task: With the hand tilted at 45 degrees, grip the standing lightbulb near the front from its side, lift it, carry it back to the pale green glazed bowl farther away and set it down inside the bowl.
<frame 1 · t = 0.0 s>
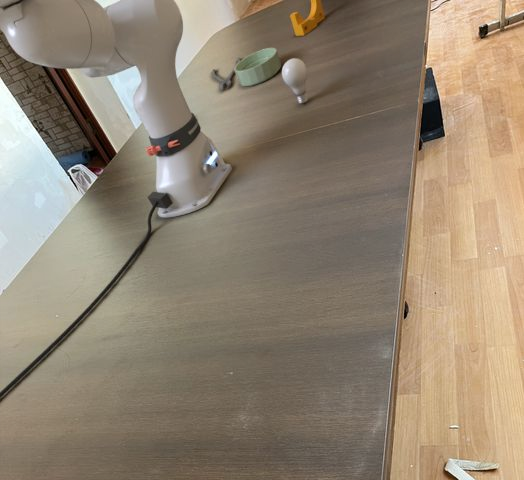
lightbulb: (304, 103, 129), on the table
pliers: (226, 77, 168), on the table
bowl: (260, 75, 156), on the table
pipe clamp: (312, 27, 169), on the table
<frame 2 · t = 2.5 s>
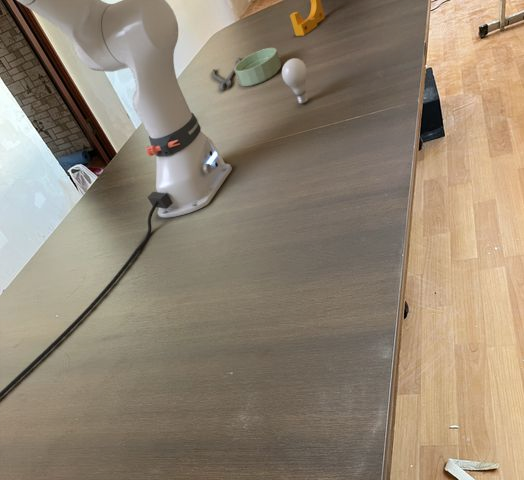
nothing on the table moved.
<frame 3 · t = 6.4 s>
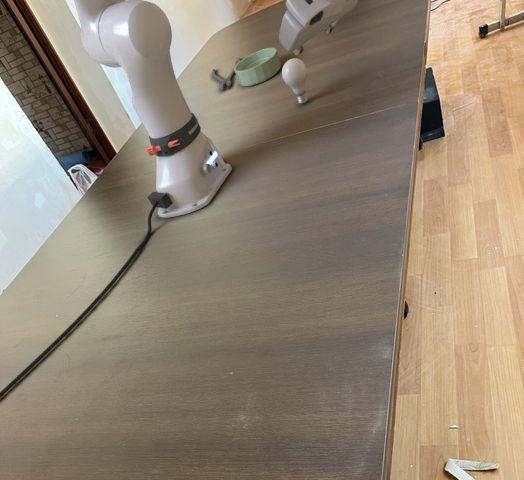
hand: (312, 41, 111), 15 cm above the table, tool tilted 45°, fingers open, 8 cm apart
nothing on the table moved.
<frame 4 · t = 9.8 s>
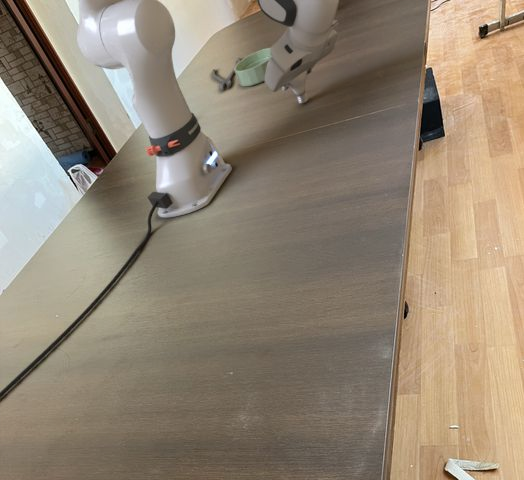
hand: (295, 80, 126), 6 cm above the table, tool tilted 45°, fingers closed on lightbulb, 6 cm apart
lightbulb: (304, 103, 129), on the table, touching gripper
everything else where it was.
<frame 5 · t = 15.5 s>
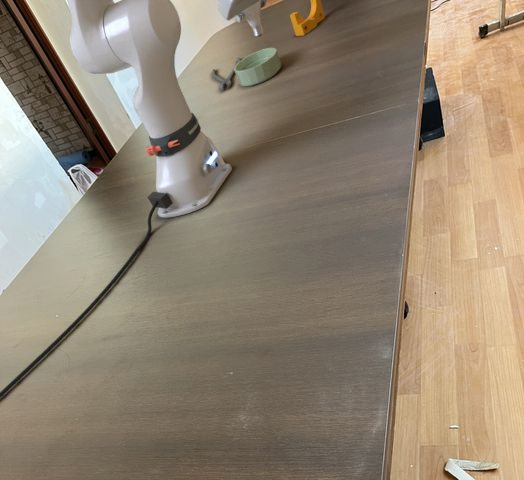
hand: (250, 12, 132), 20 cm above the table, tool tilted 45°, fingers closed on lightbulb, 6 cm apart
lightbulb: (260, 37, 136), point 13 cm above the table, touching gripper
everything else where it was.
when the fingers open (7 cm above the table, at t = 21.3 s): lightbulb stays where it is, resting on bowl.
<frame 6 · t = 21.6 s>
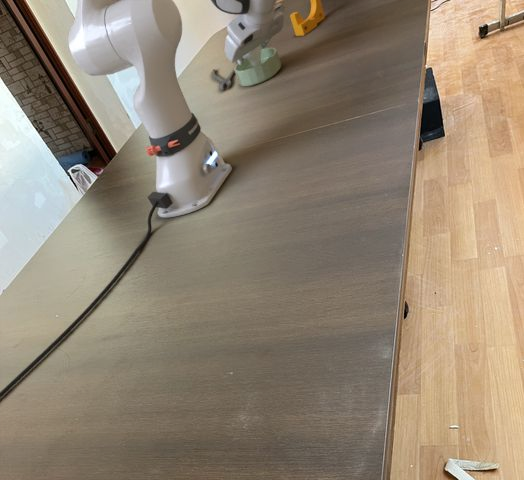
hand: (252, 54, 152), 7 cm above the table, tool tilted 45°, fingers open, 8 cm apart
lightbulb: (260, 74, 156), resting on bowl
everything else where it was.
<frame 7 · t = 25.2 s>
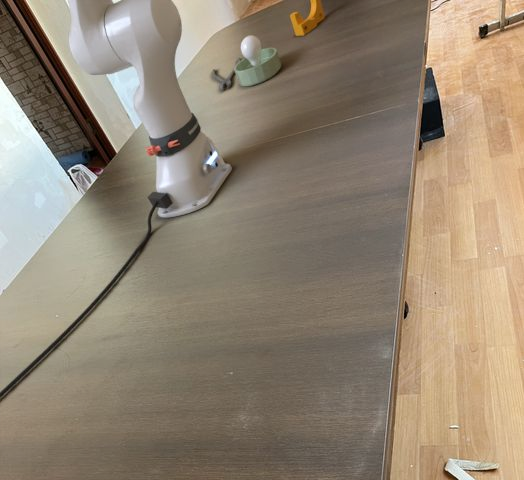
nothing on the table moved.
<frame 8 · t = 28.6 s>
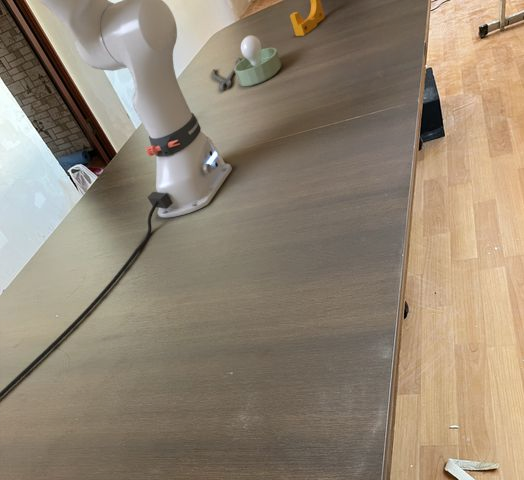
nothing on the table moved.
at the end: lightbulb inside the target area in the bowl (0.1 cm from its centre), point 0.4 cm above the bowl's base; the gripper is holding nothing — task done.
